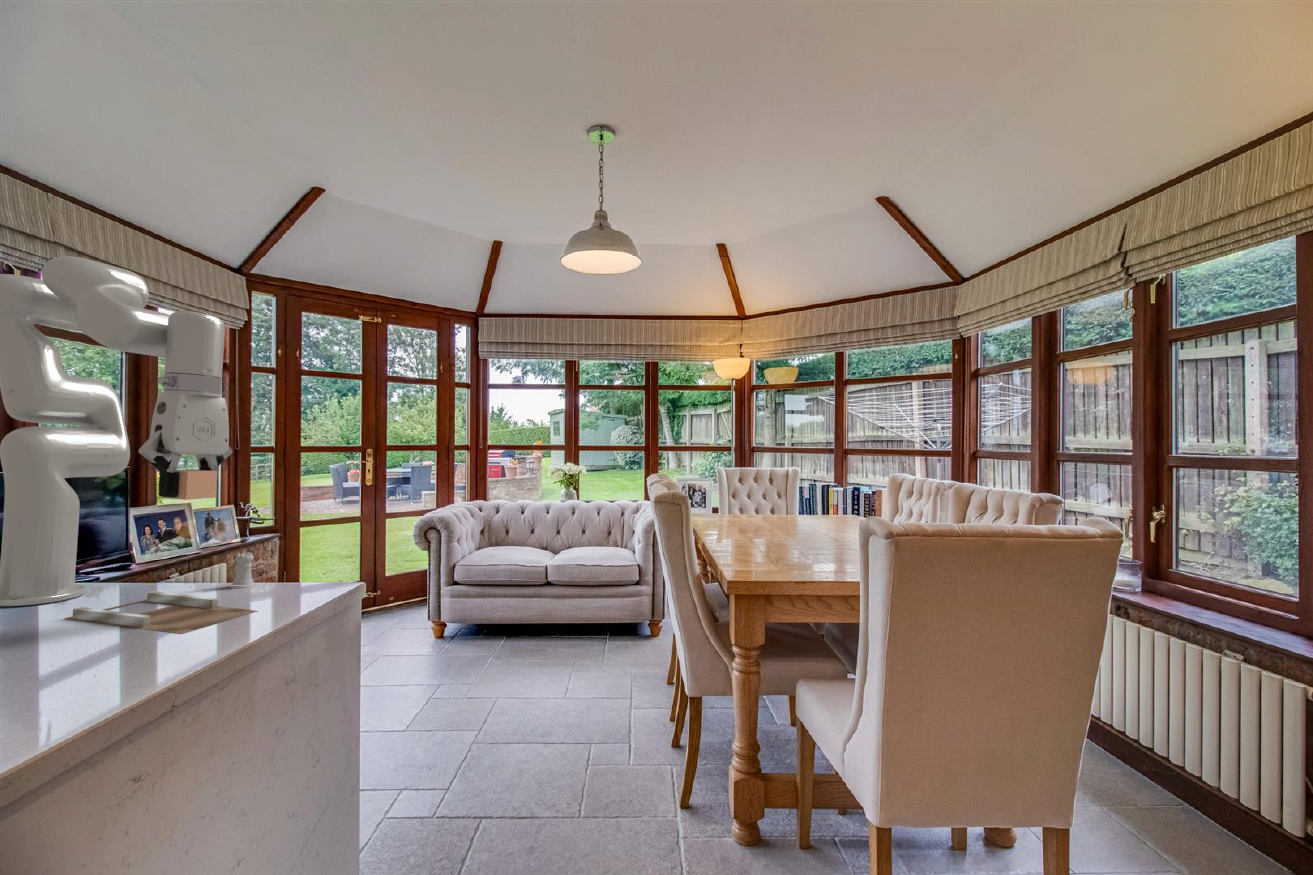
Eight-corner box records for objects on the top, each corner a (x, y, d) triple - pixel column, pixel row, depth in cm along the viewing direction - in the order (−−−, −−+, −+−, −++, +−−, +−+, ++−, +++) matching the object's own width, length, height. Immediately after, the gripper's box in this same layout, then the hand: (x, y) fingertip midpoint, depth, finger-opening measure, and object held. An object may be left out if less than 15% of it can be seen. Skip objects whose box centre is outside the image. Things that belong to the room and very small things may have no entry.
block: (161, 497, 93) (162, 470, 93) (191, 495, 98) (193, 469, 98) (185, 499, 92) (187, 471, 92) (215, 497, 97) (217, 471, 97)
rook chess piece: (261, 591, 116) (263, 552, 116) (243, 597, 111) (245, 556, 111) (241, 590, 116) (243, 550, 116) (222, 595, 112) (224, 554, 112)
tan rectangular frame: (63, 627, 90) (64, 608, 90) (151, 606, 102) (152, 590, 103) (180, 644, 85) (182, 623, 85) (258, 619, 98) (259, 602, 98)
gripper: (157, 381, 86) (149, 500, 86) (256, 393, 103) (250, 493, 103) (118, 380, 88) (110, 497, 87) (222, 392, 105) (216, 491, 104)
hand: (186, 494), depth 95 cm, fingers closed on block, 4 cm apart
